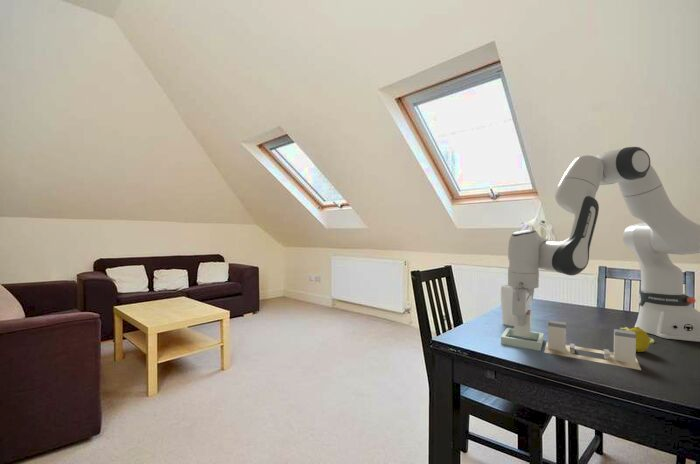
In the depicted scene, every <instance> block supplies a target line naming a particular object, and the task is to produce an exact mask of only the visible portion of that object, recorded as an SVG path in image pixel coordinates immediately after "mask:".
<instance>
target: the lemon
mask: <svg viewBox="0 0 700 464" xmlns="http://www.w3.org/2000/svg"><path fill="white" fill-rule="evenodd" d="M628 331H633V332H635V334H636V352H637V353H643V352H645V351H647V350H648V349H649V348H650V345H651V344H650V341H649V338H650V337H649V333H646V332H645V331H644V330H642V329H640V328H639V327H632V328H629V330H628Z"/></svg>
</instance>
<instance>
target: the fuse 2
mask: <svg viewBox="0 0 700 464" xmlns="http://www.w3.org/2000/svg"><path fill="white" fill-rule="evenodd" d="M613 352H614V356H613V357H614V360H615V361H621V362H627V363H633V364H635V362H636V359H637V356H636V355H637V353H636V334H635V332H633V331H626V330H620V329H616V328H613Z"/></svg>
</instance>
